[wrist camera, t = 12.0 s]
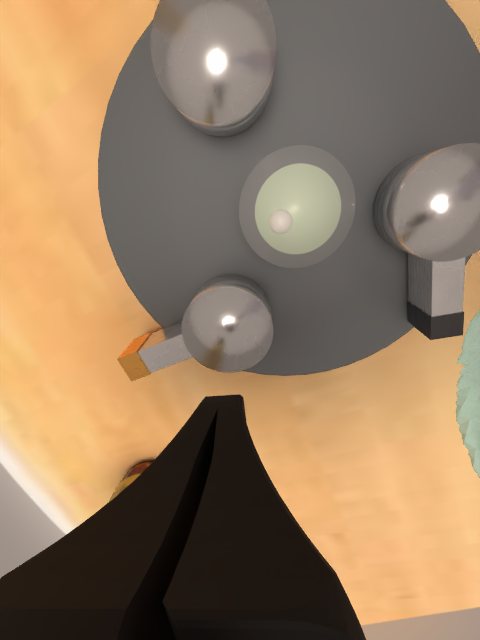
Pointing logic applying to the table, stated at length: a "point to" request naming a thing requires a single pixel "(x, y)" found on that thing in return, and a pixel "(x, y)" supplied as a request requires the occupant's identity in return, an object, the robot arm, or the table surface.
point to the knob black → (434, 231)
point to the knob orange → (209, 331)
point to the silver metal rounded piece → (215, 61)
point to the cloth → (470, 392)
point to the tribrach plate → (310, 103)
